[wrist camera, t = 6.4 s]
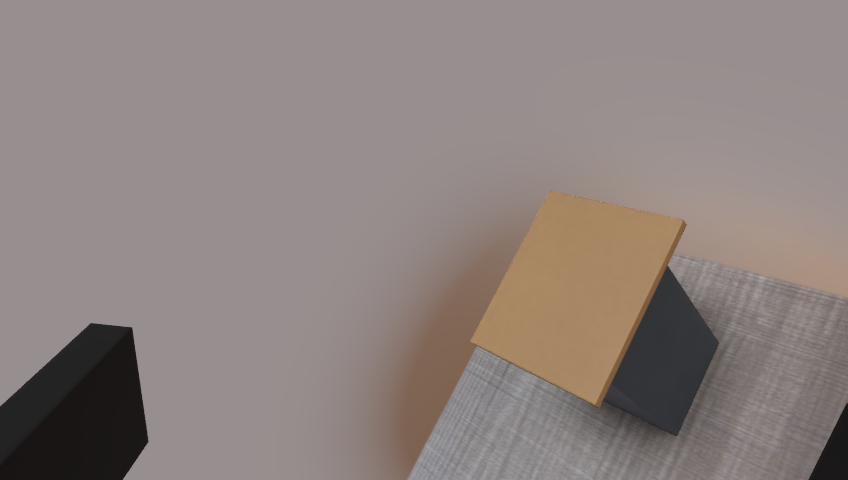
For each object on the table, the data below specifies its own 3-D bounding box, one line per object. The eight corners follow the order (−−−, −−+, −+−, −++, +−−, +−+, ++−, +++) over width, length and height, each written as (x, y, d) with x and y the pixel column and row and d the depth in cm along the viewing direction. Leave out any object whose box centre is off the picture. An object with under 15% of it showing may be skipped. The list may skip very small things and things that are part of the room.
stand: (633, 292, 44) (549, 190, 33) (743, 328, 38) (684, 219, 28) (576, 409, 42) (469, 341, 32) (682, 465, 37) (594, 405, 26)
